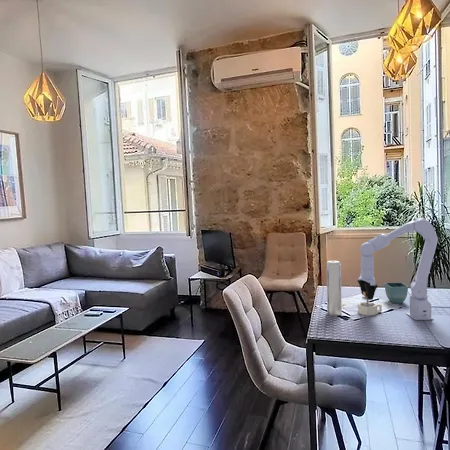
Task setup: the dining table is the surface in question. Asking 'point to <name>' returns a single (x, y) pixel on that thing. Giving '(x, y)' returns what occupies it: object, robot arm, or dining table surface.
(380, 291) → the dining table surface
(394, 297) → the flower pot
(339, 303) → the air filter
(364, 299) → the plunger
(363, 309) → the press carafe
